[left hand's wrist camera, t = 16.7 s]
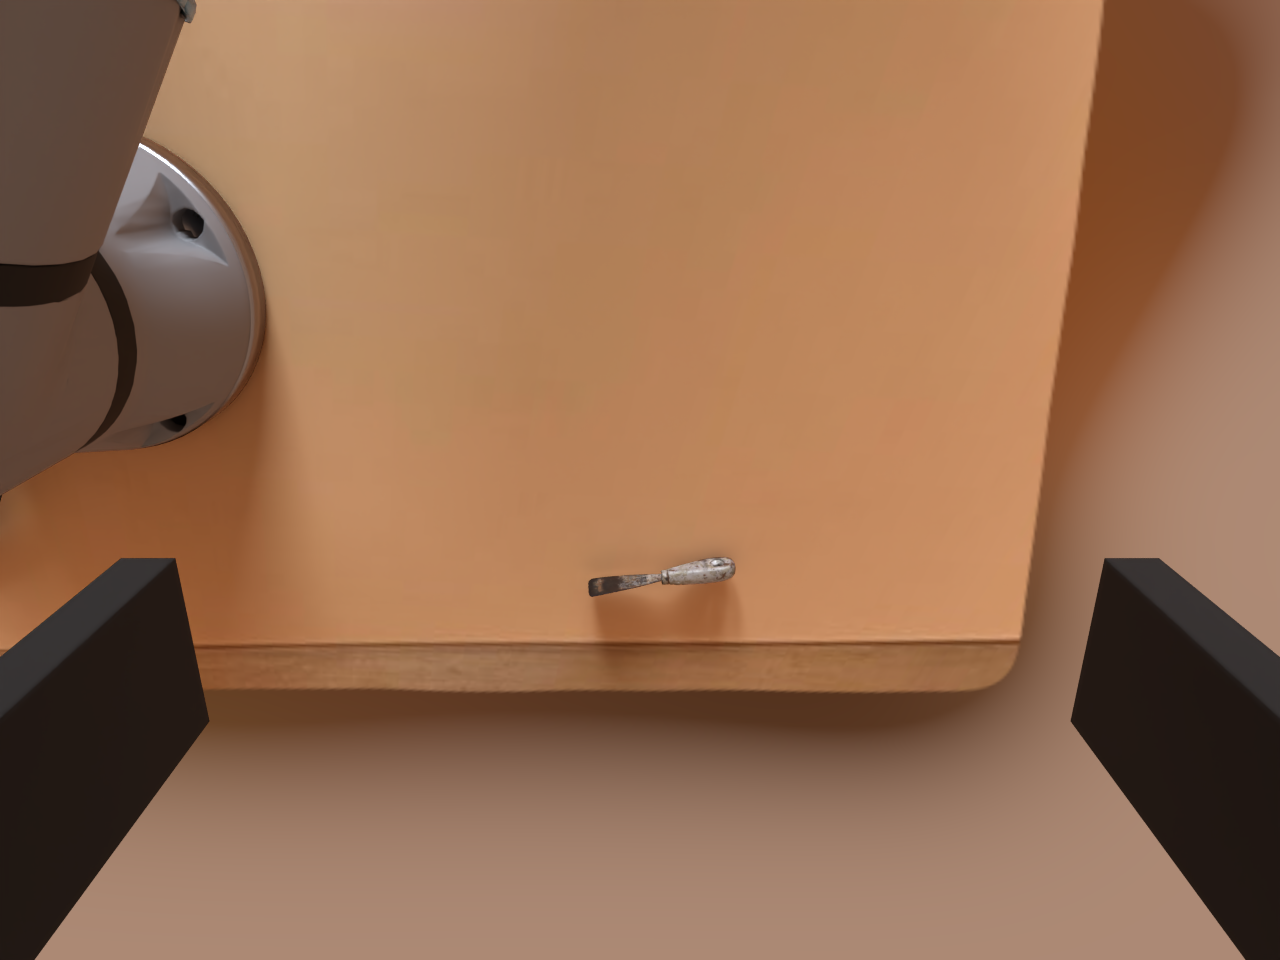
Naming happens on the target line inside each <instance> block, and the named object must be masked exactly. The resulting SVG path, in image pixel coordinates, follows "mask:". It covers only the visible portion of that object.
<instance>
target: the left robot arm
mask: <svg viewBox="0 0 1280 960" xmlns="http://www.w3.org/2000/svg"><path fill="white" fill-rule="evenodd" d="M195 13H196V3H195V0H0V500H1V497H2V494H4V493H5V492H7V491H9V490H11V489H12V488H14V487H16V486H18V485H19V484H21V483H23V482H25V481H26V480H28V479H30V478H32V477H33V476H35V475H37V474H38V473H40V472H42V471H44V470H45V469H47V468H49V467H51V466H52V465H54V464H56V463H58V462H59V461H61V460H63V459H65V458H66V457H68V456H70V455H71V454H73V453H79V452H98V451H118V450H132V449H139V448H146V447H151V446H156V445H160V444H163V443H167V442H170V441H172V440H175V439H177V438H180V437H182V436H184V435H186V434H188V433H190V432H192V431H193V430H195V429H197V428H198V427H200V426H201V425H203V424H204V423H206V422H207V421H209V420H210V419H212V418H213V417H215V416H216V415H217V414H219V413H220V412H221V411H222V410H224V409H225V408H226V407H227V406H228V405H229V404H230V403H231V402H232V401H233V400H234V399H235V398H236V397H237V396H238V394H239V393H240V392H241V390H242V389H243V388H244V386H245V385H246V383H247V382H248V380H249V378H250V376H251V374H252V372H253V371H254V368H255V366H256V363H257V361H258V358H259V355H260V351H261V348H262V344H263V338H264V332H265V320H266V308H265V295H264V288H263V282H262V278H261V273H260V269H259V266H258V263H257V260H256V257H255V254H254V252H253V249H252V247H251V245H250V242H249V240H248V238H247V236H246V234H245V232H244V230H243V228H242V227H241V225H240V223H239V221H238V220H237V218H236V217H235V215H234V214H233V212H232V210H231V209H230V208H229V206H228V205H227V204H226V202H225V201H224V200H223V199H222V197H221V196H220V195H219V193H218V192H217V191H216V190H215V189H214V188H213V187H212V186H211V185H210V184H209V183H208V181H207V180H205V179H204V178H203V177H202V176H201V175H200V174H199V173H198V172H197V171H196V170H195V169H194V168H192V167H191V166H190V165H188V164H187V163H186V162H185V161H183V160H182V159H181V158H179V157H178V156H176V155H175V154H173V153H172V152H170V151H169V150H167V149H166V148H164V147H162V146H160V145H159V144H157V143H155V142H153V141H151V140H149V139H147V138H145V137H143V133H144V130H145V128H146V125H147V122H148V119H149V117H150V114H151V111H152V108H153V106H154V103H155V100H156V97H157V95H158V92H159V89H160V86H161V84H162V81H163V78H164V75H165V73H166V70H167V67H168V64H169V62H170V59H171V56H172V54H173V51H174V48H175V45H176V43H177V40H178V37H179V34H180V32H181V29H182V26H183V23H184V21H185V22H188V23H191V22H192V20H193V17H194V15H195ZM208 722H209V717H208V712H207V708H206V703H205V698H204V693H203V688H202V684H201V679H200V674H199V669H198V664H197V660H196V655H195V650H194V645H193V641H192V636H191V631H190V626H189V621H188V617H187V612H186V607H185V602H184V598H183V593H182V588H181V583H180V578H179V574H178V569H177V564H176V559H175V558H121V559H120V560H118V561H117V562H116V563H115V564H113V565H112V566H111V567H110V568H109V569H107V570H106V571H105V572H104V573H102V574H101V575H100V576H99V577H98V578H96V579H95V580H94V581H93V582H91V583H90V584H89V585H88V586H87V587H85V588H84V589H83V590H82V591H80V592H79V593H78V594H77V595H76V596H74V597H73V598H72V599H71V600H69V601H68V602H67V603H66V604H65V605H63V606H62V607H61V608H60V609H58V610H57V611H56V612H55V613H54V614H52V615H51V616H50V617H49V618H47V619H46V620H45V621H44V622H43V623H41V624H40V625H39V626H38V627H36V628H35V629H34V630H33V631H31V632H30V633H29V634H28V635H27V636H25V637H24V638H23V639H22V640H20V641H19V642H18V643H17V644H16V645H14V646H13V647H12V648H11V649H9V650H8V651H7V652H6V653H5V654H3V655H2V656H1V657H0V960H35V958H36V957H37V956H38V954H39V953H40V951H41V950H42V949H43V947H44V946H45V945H46V943H47V942H48V941H49V939H50V938H51V936H52V935H53V934H54V932H55V931H56V930H57V928H58V927H59V926H60V924H61V923H62V921H63V920H64V919H65V917H66V916H67V915H68V913H69V912H70V911H71V909H72V908H73V906H74V905H75V904H76V902H77V901H78V900H79V898H80V897H81V896H82V894H83V893H84V891H85V890H86V889H87V887H88V886H89V885H90V883H91V882H92V881H93V879H94V878H95V876H96V875H97V874H98V872H99V871H100V870H101V868H102V867H103V866H104V864H105V863H106V861H107V860H108V859H109V857H110V856H111V855H112V853H113V852H114V851H115V849H116V848H117V846H118V845H119V844H120V842H121V841H122V840H123V838H124V837H125V836H126V834H127V833H128V831H129V830H130V829H131V827H132V826H133V825H134V823H135V822H136V821H137V819H138V818H139V816H140V815H141V814H142V812H143V811H144V810H145V808H146V807H147V806H148V804H149V803H150V801H151V800H152V799H153V797H154V796H155V795H156V793H157V792H158V791H159V789H160V788H161V786H162V785H163V784H164V782H165V781H166V780H167V778H168V777H169V776H170V774H171V773H172V771H173V770H174V769H175V767H176V766H177V765H178V763H179V762H180V761H181V759H182V758H183V756H184V755H185V754H186V752H187V751H188V750H189V748H190V747H191V746H192V744H193V743H194V741H195V740H196V739H197V737H198V736H199V735H200V733H201V732H202V731H203V729H204V728H205V726H206V725H207V724H208ZM1071 722H1072V724H1073V725H1074V727H1075V728H1076V729H1077V731H1078V732H1079V733H1080V735H1081V736H1082V737H1083V739H1084V740H1085V742H1086V743H1087V744H1088V746H1089V747H1090V748H1091V750H1092V751H1093V752H1094V754H1095V755H1096V757H1097V758H1098V759H1099V761H1100V762H1101V763H1102V765H1103V766H1104V767H1105V769H1106V770H1107V771H1108V773H1109V774H1110V776H1111V777H1112V778H1113V780H1114V781H1115V782H1116V784H1117V785H1118V786H1119V788H1120V789H1121V791H1122V792H1123V793H1124V795H1125V796H1126V797H1127V799H1128V800H1129V801H1130V803H1131V804H1132V805H1133V807H1134V808H1135V810H1136V811H1137V812H1138V814H1139V815H1140V816H1141V818H1142V819H1143V821H1144V822H1145V823H1146V825H1147V826H1148V827H1149V829H1150V830H1151V831H1152V833H1153V834H1154V836H1155V837H1156V838H1157V840H1158V841H1159V842H1160V844H1161V845H1162V846H1163V848H1164V849H1165V851H1166V852H1167V853H1168V855H1169V856H1170V857H1171V859H1172V860H1173V861H1174V863H1175V864H1176V865H1177V867H1178V868H1179V870H1180V871H1181V872H1182V874H1183V875H1184V876H1185V878H1186V879H1187V881H1188V882H1189V883H1190V885H1191V886H1192V887H1193V889H1194V890H1195V891H1196V893H1197V894H1198V896H1199V897H1200V898H1201V900H1202V901H1203V902H1204V904H1205V905H1206V906H1207V908H1208V909H1209V911H1210V912H1211V913H1212V915H1213V916H1214V917H1215V919H1216V920H1217V921H1218V923H1219V924H1220V926H1221V927H1222V928H1223V930H1224V931H1225V932H1226V934H1227V935H1228V936H1229V938H1230V939H1231V941H1232V942H1233V943H1234V945H1235V946H1236V947H1237V949H1238V950H1239V951H1240V953H1241V954H1242V956H1243V957H1244V958H1245V960H1280V657H1279V656H1278V655H1277V654H1275V653H1274V652H1273V651H1272V650H1271V649H1269V648H1268V647H1267V646H1266V645H1264V644H1263V643H1262V642H1261V641H1259V640H1258V639H1257V638H1256V637H1254V636H1253V635H1252V634H1251V633H1250V632H1249V631H1247V630H1246V629H1245V628H1244V627H1242V626H1241V625H1240V624H1239V623H1237V622H1236V621H1235V620H1234V619H1233V618H1231V617H1230V616H1229V615H1228V614H1226V613H1225V612H1224V611H1223V610H1222V609H1220V608H1219V607H1218V606H1217V605H1215V604H1214V603H1213V602H1212V601H1211V600H1209V599H1208V598H1207V597H1206V596H1204V595H1203V594H1202V593H1201V592H1200V591H1198V590H1197V589H1196V588H1195V587H1193V586H1192V585H1191V584H1190V583H1189V582H1187V581H1186V580H1185V579H1184V578H1182V577H1181V576H1180V575H1179V574H1178V573H1176V572H1175V571H1174V570H1173V569H1171V568H1170V567H1169V566H1168V565H1167V564H1165V563H1164V562H1163V561H1162V560H1160V559H1159V558H1105V559H1104V564H1103V569H1102V574H1101V578H1100V583H1099V588H1098V593H1097V598H1096V602H1095V607H1094V612H1093V617H1092V622H1091V626H1090V631H1089V636H1088V641H1087V645H1086V650H1085V655H1084V660H1083V664H1082V669H1081V674H1080V679H1079V684H1078V688H1077V693H1076V698H1075V703H1074V707H1073V712H1072V717H1071Z"/></svg>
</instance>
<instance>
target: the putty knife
mask: <svg viewBox="0 0 1280 960" xmlns="http://www.w3.org/2000/svg"><path fill="white" fill-rule="evenodd" d="M661 572H662V574H644V575H625V576H611V577H602V578H595V579H591V580H590V581H589V583H588V585H589V586H588V587H589V595H590V596H591V597H593V596H598V595H603V594H608V593H613V592H617V591H622V590H627V589H631V588H636V587H640V586H644V585H648V584H651V583H655V582H659V581H662V584H663V585H665V584H670V585H673V584H674V585H686V584H704V583H712V582H719V581H725V580H727V579H730V578H732V577H733V575H734V574H735V564H734V562H733V560H732V559H730V558H726V557H718V558H709V559H703V560H699V561H695V562H691V563H687V564H683V565H679V566H676V567H672V568H669V569H666V570H662V571H661Z"/></svg>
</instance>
